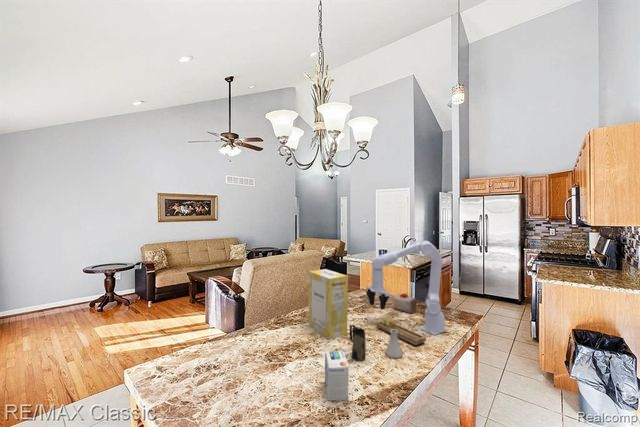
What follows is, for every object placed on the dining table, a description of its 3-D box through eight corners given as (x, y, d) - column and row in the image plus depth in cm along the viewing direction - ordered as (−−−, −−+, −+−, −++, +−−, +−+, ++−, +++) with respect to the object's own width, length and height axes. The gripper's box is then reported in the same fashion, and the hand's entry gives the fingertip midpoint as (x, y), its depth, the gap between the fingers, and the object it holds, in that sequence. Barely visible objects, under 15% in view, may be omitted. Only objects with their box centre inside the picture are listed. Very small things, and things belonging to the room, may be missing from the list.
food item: (390, 309, 175) (390, 292, 175) (397, 306, 180) (397, 290, 180) (411, 315, 165) (411, 297, 165) (418, 311, 171) (418, 295, 170)
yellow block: (387, 323, 148) (387, 316, 148) (394, 326, 144) (394, 319, 144) (381, 325, 146) (381, 318, 146) (388, 328, 142) (388, 321, 141)
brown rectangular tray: (386, 325, 151) (386, 319, 151) (426, 343, 131) (426, 336, 131) (375, 328, 146) (375, 322, 146) (414, 347, 126) (414, 341, 126)
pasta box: (308, 325, 149) (308, 271, 149) (325, 321, 155) (325, 269, 155) (329, 339, 134) (329, 278, 134) (347, 333, 140) (347, 275, 140)
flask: (403, 360, 116) (403, 335, 116) (384, 358, 118) (385, 333, 117) (402, 351, 123) (402, 327, 123) (384, 349, 125) (384, 326, 125)
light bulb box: (324, 381, 102) (324, 350, 102) (343, 380, 102) (343, 350, 102) (327, 401, 91) (327, 367, 91) (349, 400, 92) (349, 366, 92)
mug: (368, 359, 117) (368, 329, 117) (357, 363, 114) (358, 332, 114) (355, 350, 124) (355, 322, 123) (345, 354, 120) (345, 325, 120)
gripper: (362, 278, 154) (361, 304, 155) (382, 284, 142) (381, 312, 142) (372, 276, 158) (371, 301, 158) (392, 282, 146) (392, 309, 146)
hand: (377, 306), depth 151 cm, fingers open, 7 cm apart
